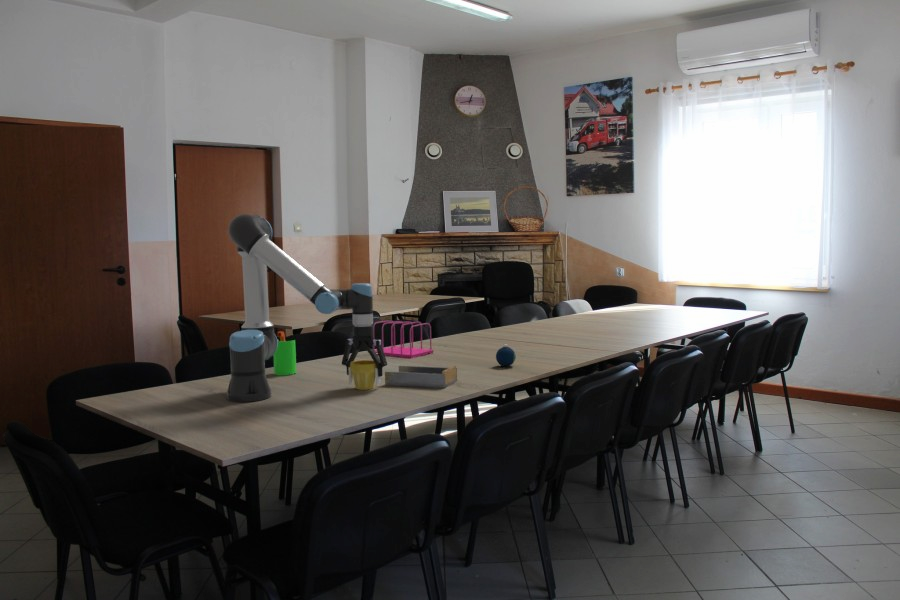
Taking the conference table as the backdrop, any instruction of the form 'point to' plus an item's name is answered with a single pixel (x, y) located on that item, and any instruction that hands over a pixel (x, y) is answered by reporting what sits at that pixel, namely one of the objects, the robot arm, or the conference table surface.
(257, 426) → the conference table surface
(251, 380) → the robot arm
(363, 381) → the plant pot
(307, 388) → the conference table surface
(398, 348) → the file sorter
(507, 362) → the christmas ornament
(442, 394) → the conference table surface
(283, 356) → the green cylindrical container
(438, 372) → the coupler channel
